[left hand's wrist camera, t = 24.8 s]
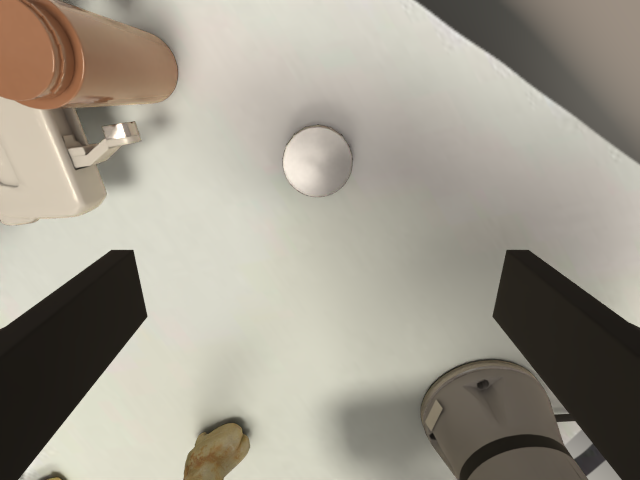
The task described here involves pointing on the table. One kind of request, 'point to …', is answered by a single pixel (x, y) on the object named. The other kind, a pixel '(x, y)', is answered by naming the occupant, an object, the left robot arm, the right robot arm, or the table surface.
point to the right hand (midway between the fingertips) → (112, 60)
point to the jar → (79, 58)
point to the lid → (317, 161)
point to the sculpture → (216, 453)
